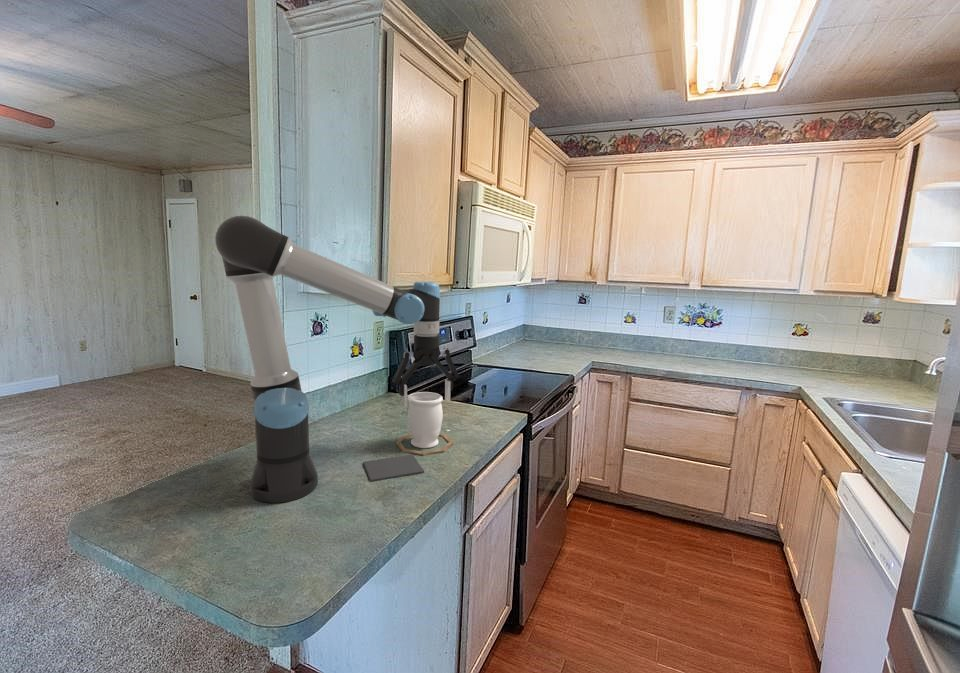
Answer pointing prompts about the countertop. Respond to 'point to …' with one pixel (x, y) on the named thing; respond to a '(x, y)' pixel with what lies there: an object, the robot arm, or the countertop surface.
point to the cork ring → (427, 451)
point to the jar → (425, 418)
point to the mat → (392, 467)
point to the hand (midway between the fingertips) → (426, 403)
